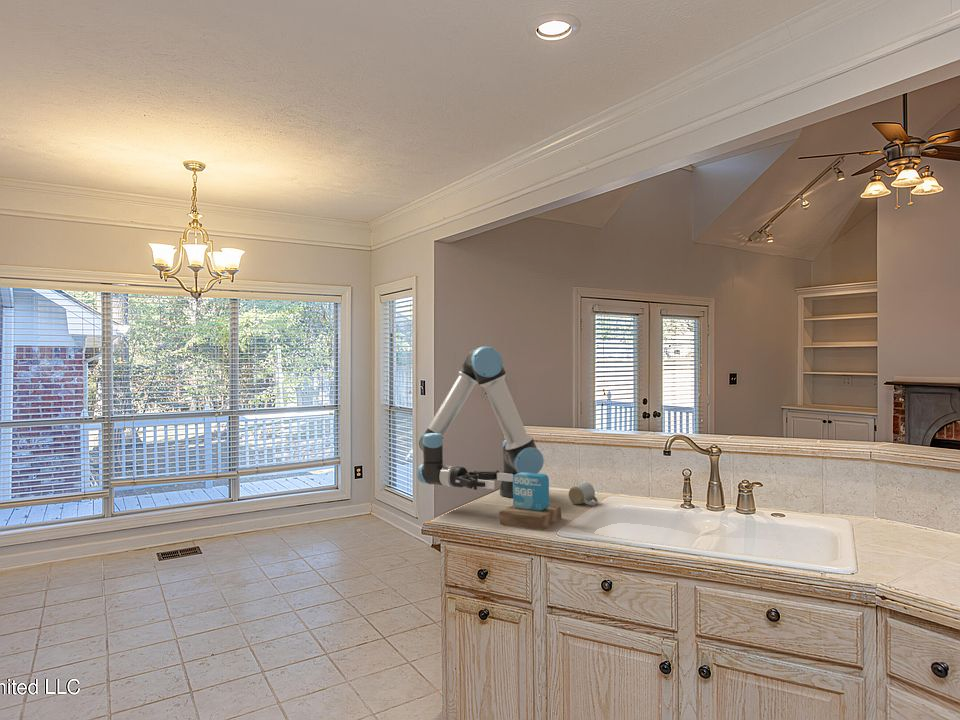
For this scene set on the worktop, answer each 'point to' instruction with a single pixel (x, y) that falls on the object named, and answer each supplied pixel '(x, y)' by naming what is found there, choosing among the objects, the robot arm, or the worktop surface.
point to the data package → (531, 491)
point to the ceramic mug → (583, 494)
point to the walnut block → (530, 517)
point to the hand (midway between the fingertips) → (503, 481)
